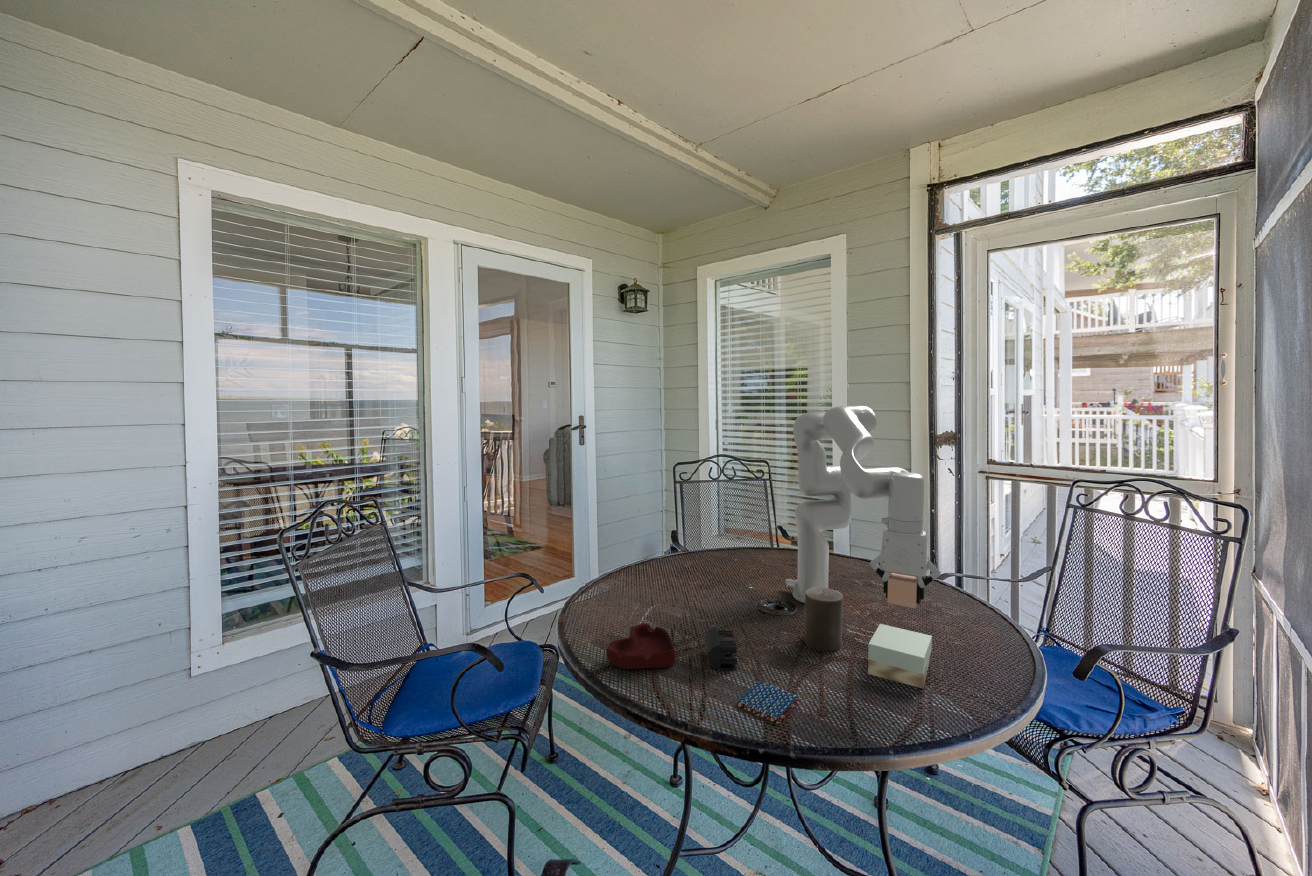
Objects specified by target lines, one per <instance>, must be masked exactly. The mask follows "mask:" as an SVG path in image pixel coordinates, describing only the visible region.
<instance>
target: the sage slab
mask: <svg viewBox="0 0 1312 876" xmlns="http://www.w3.org/2000/svg"><path fill="white" fill-rule="evenodd" d="M932 643H933V635H929V634H927V633H921V632H917V631H912V630H908V629H903V628H901V627H900V628H899V627H896V626H892V625H888V624H887V625H886V624H883V623H879V625H878V627H877V628H876V630H875V631H874V634H873V636H872V637H871V638H870V640H869V643H868V653H867V659H868V660H872V661H876V662H879V663H883V664H887V665H890V666H894V667H898V668H901V669H905V670H909V671H912V672H916V673H920V674H924V671H925V668H926V666H927V663H928V660H929V661H930V659H929V657H931V655H932V654H931V653H932V647H933V646H932Z"/></svg>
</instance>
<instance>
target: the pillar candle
mask: <svg viewBox="0 0 1312 876" xmlns="http://www.w3.org/2000/svg"><path fill="white" fill-rule="evenodd" d="M843 604H844V596H843V594H842V592H839V590H835V589H832V588H829V587H828V588H821V587H820V588H819V587H818V588H810V589H808V590H806V592H805V603H804V625H803V627H804V628H803V630H804V631H803V642H804V644H805V645H806V646H808V647H809V648H810V649H813V650H814V651H815V650H816V651H819V652H826V653H828V652H835V651H838V650H840V649H841V648H842V645H843V643H842V641H843V640H842V639H843V637H842V635H843V612H844V611H843V610H844V609H843V608H844V607H843V606H844V605H843Z"/></svg>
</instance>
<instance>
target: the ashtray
mask: <svg viewBox="0 0 1312 876" xmlns="http://www.w3.org/2000/svg"><path fill="white" fill-rule="evenodd" d="M605 651H606V652H605V653H606V654H605V656H606V658H607V660H608V661H609V663H611V664H612V665H613V666H615V667H617V668H620V669H625V670H639V669H664V668H669V667H671V666H673V665H674V664H675V661H676V649H675V645H674V643H673V641H672V638H671V636H670V635H669V633H668V631H667V629H666V628H664V627H661V626H655V628H652V627H651V625H650V624H649V623H644V622H642V623H640V624H637V625H632V626H631V627H630V629H629V637H626V638H622V639H621V638H620V639H616V640H612V641H610V643H608V646H607V647H606V650H605Z"/></svg>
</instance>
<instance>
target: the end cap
mask: <svg viewBox="0 0 1312 876" xmlns="http://www.w3.org/2000/svg"><path fill="white" fill-rule="evenodd" d="M734 636H735V634H734V630H732V629H731V630H730V629H728V630H727V629H725V630H724V629H723V630H718V627H717V626H714V627H710V628H709V629H708V630H707V631H706V633H705V637H704V641H705V646H706V654H707V660H708V661H707V662H709V665H711V666H712V668H715V669H716V670H718V671H736V670H738V669H737V665H738V663H737V661H738V658H737V657H735V654H736V655H737V654H738V650H737V649H738V647H737V643H736V640H727V639H725V638H728V637H729V638H730V637H734Z"/></svg>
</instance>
